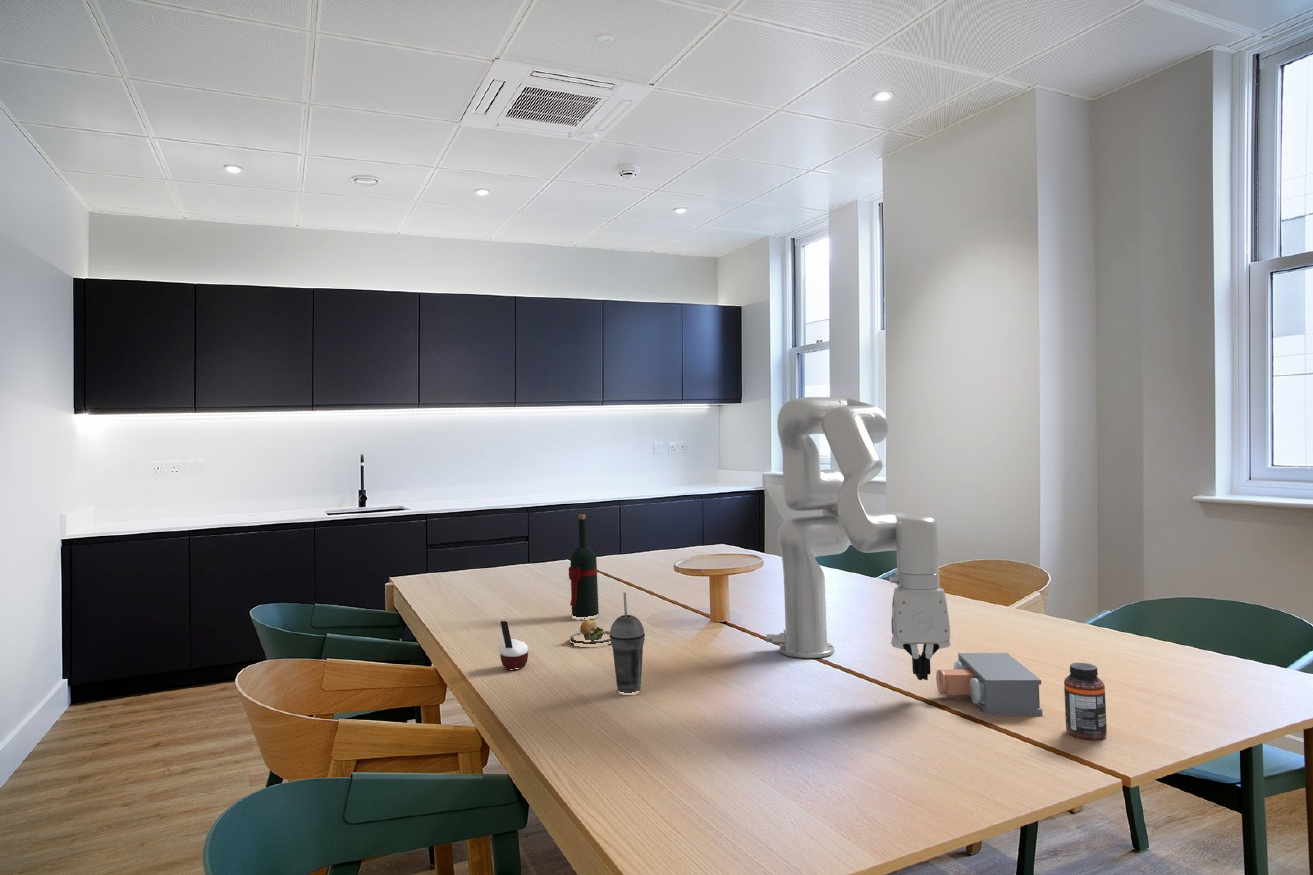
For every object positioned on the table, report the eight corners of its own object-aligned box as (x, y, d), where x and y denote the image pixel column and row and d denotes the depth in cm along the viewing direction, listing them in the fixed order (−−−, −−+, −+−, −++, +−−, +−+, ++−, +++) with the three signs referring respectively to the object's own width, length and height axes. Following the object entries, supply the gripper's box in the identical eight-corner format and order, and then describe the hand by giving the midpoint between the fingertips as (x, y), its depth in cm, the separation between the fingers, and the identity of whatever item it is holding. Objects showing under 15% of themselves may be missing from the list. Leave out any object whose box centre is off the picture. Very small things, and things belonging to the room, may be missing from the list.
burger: (622, 645, 199) (621, 615, 199) (577, 651, 195) (576, 620, 195) (608, 635, 211) (607, 606, 211) (564, 640, 206) (563, 611, 206)
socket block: (987, 715, 141) (986, 680, 141) (959, 684, 159) (958, 653, 159) (1042, 715, 140) (1041, 680, 140) (1008, 684, 158) (1006, 652, 158)
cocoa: (518, 661, 186) (516, 610, 186) (538, 665, 182) (536, 613, 182) (488, 672, 178) (486, 618, 178) (507, 676, 175) (505, 621, 175)
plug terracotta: (942, 697, 148) (941, 673, 148) (936, 689, 152) (935, 666, 153) (992, 697, 147) (991, 673, 147) (985, 689, 152) (984, 666, 152)
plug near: (977, 707, 142) (976, 682, 142) (970, 699, 147) (969, 675, 147) (1029, 707, 141) (1028, 682, 141) (1020, 699, 146) (1019, 675, 146)
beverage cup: (615, 699, 156) (612, 598, 156) (607, 689, 163) (604, 591, 163) (651, 695, 158) (647, 595, 158) (642, 685, 165) (638, 589, 165)
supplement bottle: (1070, 725, 135) (1067, 658, 135) (1110, 732, 131) (1107, 663, 131) (1062, 736, 130) (1059, 667, 130) (1103, 744, 126) (1100, 672, 126)
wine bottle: (561, 620, 228) (558, 516, 228) (582, 613, 237) (578, 513, 237) (583, 623, 224) (580, 517, 224) (604, 615, 233) (600, 513, 233)
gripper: (881, 585, 148) (884, 684, 148) (964, 584, 146) (968, 684, 146) (874, 578, 155) (878, 672, 155) (953, 577, 154) (957, 672, 154)
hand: (921, 677), depth 151 cm, fingers closed
